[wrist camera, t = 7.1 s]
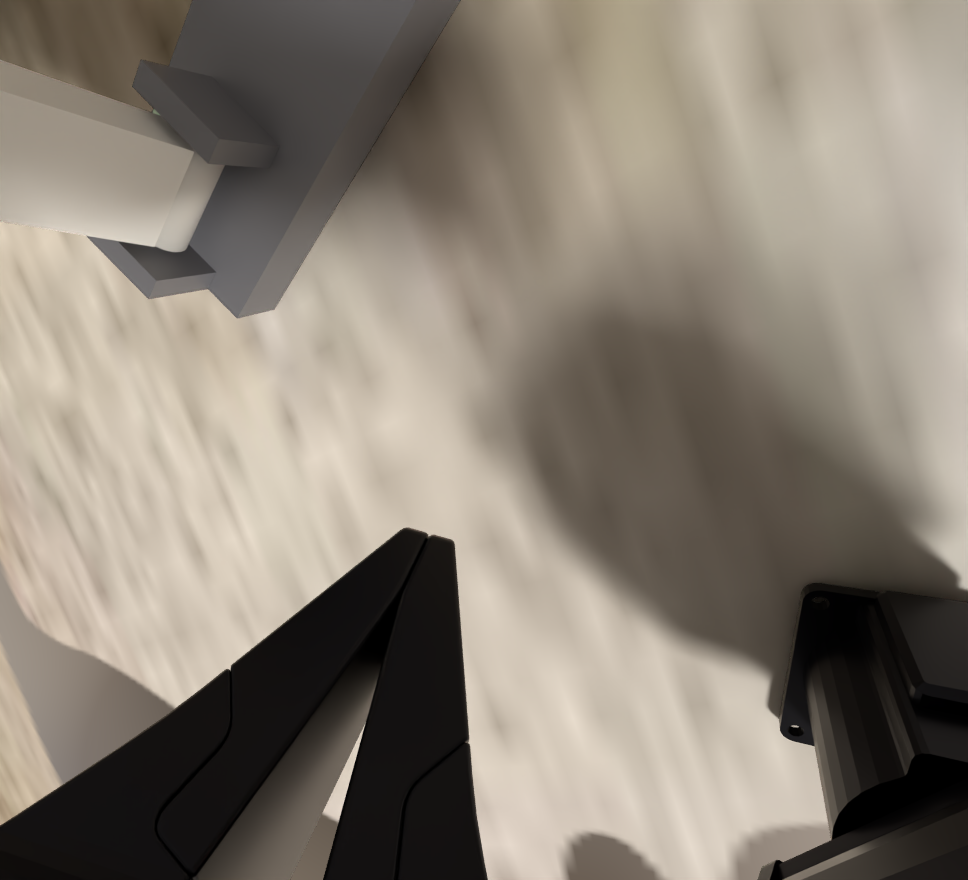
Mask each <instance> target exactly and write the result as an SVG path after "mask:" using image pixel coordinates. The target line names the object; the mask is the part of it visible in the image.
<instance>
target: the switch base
mask: <svg viewBox="0 0 968 880" xmlns="http://www.w3.org/2000/svg"><path fill="white" fill-rule="evenodd" d="M459 2H460V0H192V3H191V6H190V9H189V12H188V14H187V17H186V20H185V23H184V25H183V28H182V31H181V34H180V36H179V39H178V42H177V45H176V47H175V50H174V53H173V56H172V59H171V61H170V64H169V66H166V65H162V64H158V63H154V62H150V61H146V60H142V59H141V61H140V64H139V67H138V70H137V73H136V76H135V79H134V82H133V85H132V87H133V88H134V89H135V90H136V91H137V92H138V93H139V94H140V95H141V96H142V97H143V98H144V99H145V100H146V101H147V102H148V103H149V104H150V105H151V106H152V107H153V111H152V113H154V114H157V115H160V116H162V117H163V118H164V119H165V120H166V121H167V122H168V123H169V125H170V126H171V127H172V128H173V129H174V130H175V131H176V132H177V133H178V134H179V135H180V136H181V137H182V138H183V139H184V140H185V141H186V142H187V143H188V144H189V145H190V146H191V147H192V148H193V149H194V150H195V151H196V152H197V153H198V154H199V155H200V156H201V157H202V158H203V159H204V160H205V161H206V162H207V163H208V164H217V165H225V166H224V168H223V170H222V173H221V175H220V177H219V179H218V181H217V183H216V186H215V188H214V190H213V192H212V194H211V197H210V199H209V201H208V203H207V205H206V207H205V210H204V212H203V214H202V216H201V218H200V221H199V223H198V225H197V227H196V229H195V231H194V234H193V236H192V238H191V240H190V242H189V245H188V247H187V249H186V250H185V251H182V252H170V251H166V250H163V249H160V248H158V247H156V246H155V247H151V246H145V245H139V244H133V243H127V242H121V241H115V240H109V239H103V238H96V237H90V236H87V237H88V238H89V239H90V240H91V241H92V242H93V243H94V244H95V245H96V246H97V247H98V248H99V249H100V250H101V251H102V252H103V253H104V254H105V256H106V257H107V258H108V259H109V260H110V261H111V262H112V263H113V264H114V265H115V266H116V267H117V268H118V269H119V270H120V271H121V272H122V273H123V274H124V275H125V276H126V277H127V278H128V279H129V280H130V281H131V282H132V283H133V284H134V285H135V286H136V287H137V288H138V289H139V290H140V291H141V292H142V293H143V294H144V295H145V296H146V297H147V298H148V299H152V298H158V297H164V296H170V295H176V294H181V293H187V292H193V291H199V290H205V289H209V290H210V291H211V292H212V293H213V294H214V295H215V296H216V297H217V299H218V300H219V301H220V302H221V303H222V304H223V305H224V306H225V307H226V308H227V309H228V310H229V311H230V312H231V313H232V314H233V315H234V316H235V317H236V318H241V317H245V316H249V315H254V314H258V313H262V312H266V311H270V310H274V309H275V307H276V306H277V304H278V302H279V301H280V299H281V297H282V296H283V294H284V292H285V291H286V289H287V287H288V286H289V284H290V282H291V281H292V279H293V277H294V276H295V274H296V273H297V271H298V269H299V268H300V266H301V264H302V263H303V261H304V259H305V258H306V256H307V254H308V253H309V251H310V249H311V248H312V246H313V244H314V243H315V241H316V239H317V238H318V236H319V234H320V233H321V231H322V229H323V228H324V226H325V224H326V223H327V221H328V219H329V218H330V216H331V214H332V213H333V211H334V209H335V208H336V206H337V204H338V203H339V201H340V199H341V198H342V196H343V194H344V193H345V191H346V190H347V188H348V186H349V185H350V183H351V181H352V180H353V178H354V176H355V175H356V173H357V171H358V170H359V168H360V166H361V165H362V163H363V161H364V160H365V158H366V156H367V155H368V153H369V151H370V150H371V148H372V146H373V145H374V143H375V141H376V140H377V138H378V136H379V135H380V133H381V131H382V130H383V128H384V126H385V125H386V123H387V121H388V120H389V118H390V116H391V115H392V113H393V112H394V110H395V108H396V107H397V105H398V103H399V102H400V100H401V98H402V97H403V95H404V93H405V92H406V90H407V88H408V87H409V85H410V83H411V82H412V80H413V78H414V77H415V75H416V73H417V72H418V70H419V68H420V67H421V65H422V63H423V62H424V60H425V58H426V57H427V55H428V53H429V52H430V50H431V48H432V47H433V45H434V43H435V42H436V40H437V38H438V37H439V35H440V34H441V32H442V30H443V29H444V27H445V25H446V24H447V22H448V20H449V19H450V17H451V15H452V14H453V12H454V10H455V9H456V7H457V5H458V4H459Z"/></svg>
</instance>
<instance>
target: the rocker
mask: <svg viewBox="0 0 968 880" xmlns="http://www.w3.org/2000/svg"><path fill="white" fill-rule="evenodd" d="M224 166H225V165H217V164H208V163H207V162H206V161H205V160H204V159H203V158H202V157H201V156H200V155H199V154H198V153H197V152H196V151H195V150H194V149H193V148H192V147H191V146H190V145H189V144H188V143H187V142H186V141H185V140H184V139H183V138H182V137H181V136H180V135H179V134H178V133H177V132H176V131H175V130H174V129H173V128H172V127H171V126H170V125H169V123H168V122H167V121H166V120H165V119H164V118H163V117H162V116H160V115H157V114H154V113H151V112H149V111H146V110H143V109H140V108H137V107H134V106H131V105H129V104H126V103H123V102H120V101H117V100H114V99H111V98H109V97H106V96H103V95H100V94H97V93H94V92H91V91H89V90H86V89H83V88H80V87H77V86H74V85H71V84H69V83H66V82H63V81H60V80H57V79H54V78H51V77H49V76H46V75H43V74H40V73H37V72H34V71H31V70H28V69H26V68H23V67H20V66H17V65H14V64H11V63H8V62H6V61H3V60H0V222H6V223H12V224H18V225H24V226H30V227H36V228H42V229H48V230H54V231H60V232H66V233H72V234H78V235H84V236H90V237H96V238H103V239H109V240H115V241H121V242H127V243H133V244H139V245H145V246H151V247H155V246H156V247H158V248H160V249H163V250H166V251H170V252H182V251H185V250H186V249H187V247H188V245H189V242H190V240H191V238H192V236H193V234H194V231H195V229H196V227H197V225H198V223H199V221H200V218H201V216H202V214H203V212H204V210H205V207H206V205H207V203H208V201H209V199H210V197H211V194H212V192H213V190H214V188H215V186H216V183H217V181H218V179H219V177H220V175H221V173H222V170H223V168H224Z"/></svg>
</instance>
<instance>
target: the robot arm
mask: <svg viewBox="0 0 968 880" xmlns="http://www.w3.org/2000/svg"><path fill="white" fill-rule="evenodd" d="M816 597H823V598H826V601H824V602H822V603H817V602H814V601H812V600H813V599H814V598H816ZM365 722H366V724H365ZM779 723H780V731H781V733H782V734H783V736H784V737H786V738H787V739H789V740H792V741H795V742H799V743H803V744H808V745H812V746H815V751H816V756H817V762H818V768H819V773H820V779H821V785H822V790H823V796H824V802H825V807H826V813H827V819H828V824H829V830H830V836H831V841H829V842H827V843H824V844H822V845H820V846H818V847H816V848H814V849H811V850H809V851H807V852H805V853H803V854H801V855H798V856H796V857H794V858H792V859H789V860H787V861H785V862H781V861H780V860H776V861H774V862H771V863H769V864H767V865H765V866H763V867H762V868H761V871H760V874H759V877H758V880H968V602H961V601H954V600H947V599H940V598H933V597H927V596H920V595H913V594H906V593H899V592H893V591H885V592H876V591H870V590H863V589H856V588H849V587H843V586H836V585H829V584H822V583H813V584H810V585H807V586H806V587H805V588H804V589H803V590H802V593H801V597H800V603H799V608H798V614H797V620H796V625H795V631H794V637H793V642H792V648H791V654H790V659H789V665H788V671H787V676H786V682H785V688H784V693H783V699H782V704H781V710H780V716H779ZM364 724H365V728H364V731H363V735H362V739H361V742H360V746H359V750H358V753H357V757H356V761H355V764H354V768H353V772H352V775H351V779H350V783H349V786H348V790H347V794H346V797H345V801H344V805H343V808H342V812H341V816H340V819H339V823H338V827H337V830H336V834H335V838H334V841H333V846H332V849H331V853H330V856H329V860H328V864H327V868H326V871H325V875H324V878H323V880H488V878H487V873H486V868H485V863H484V857H483V851H482V845H481V839H480V833H479V827H478V821H477V814H476V805H475V796H474V786H473V777H472V765H471V752H470V745H469V743H468V742H469V728H468V715H467V702H466V689H465V675H464V662H463V649H462V635H461V622H460V609H459V595H458V582H457V569H456V556H455V544H454V541H453V540H451V539H447V538H444V537H440V536H437V535H431V536H428V534H427V533H425V532H422V531H419V530H415V529H411V528H403V529H402V530H400V531H399V532H398V533H396V534H395V535H394V536H393V537H391V538H390V539H389V540H388V541H386V542H385V543H384V544H383V545H381V546H380V547H379V548H378V549H376V550H375V551H374V552H373V553H371V554H370V555H369V556H368V557H366V558H365V559H364V560H363V561H361V562H360V563H359V564H358V565H356V566H355V567H354V568H352V569H351V570H350V571H349V572H347V573H346V574H345V575H344V576H342V577H341V578H340V579H339V580H337V581H336V582H335V583H334V584H332V585H331V586H330V587H329V588H327V589H326V590H325V591H324V592H322V593H321V594H320V595H319V596H317V597H316V598H315V599H314V600H312V601H311V602H310V603H309V604H307V605H306V606H305V607H304V608H302V609H301V610H300V611H299V612H297V613H296V614H295V615H294V616H292V617H291V618H290V619H289V620H287V621H286V622H285V623H284V624H282V625H281V626H280V627H279V628H277V629H276V630H275V631H273V632H272V633H271V634H270V635H268V636H267V637H266V638H265V639H263V640H262V641H261V642H260V643H258V644H257V645H256V646H255V647H253V648H252V649H251V650H250V651H248V652H247V653H246V654H245V655H243V656H242V657H241V658H240V659H238V660H237V661H236V662H235V663H233V664H232V665H231V671H230V670H229V669H226V670H224V671H223V672H222V673H220V674H219V675H218V676H217V677H215V678H214V679H213V680H212V681H210V682H209V683H208V684H207V685H206V686H204V687H203V688H202V689H200V690H199V691H198V692H196V693H195V694H194V695H193V696H191V697H190V698H189V699H187V700H186V701H185V702H183V703H182V704H181V705H179V706H178V707H177V708H175V709H174V710H173V711H171V712H170V713H169V714H167V715H166V716H165V717H163V718H162V719H161V720H159V721H157V722H156V723H155V724H153V725H152V726H150V727H149V728H147V729H146V730H144V731H143V732H141V733H140V734H138V735H137V736H136V737H134V738H133V739H131V740H130V741H128V742H127V743H125V744H124V745H122V746H121V747H119V748H118V749H116V750H115V751H113V752H112V753H110V754H109V755H107V756H106V757H104V758H103V759H101V760H100V761H98V762H97V763H95V764H93V765H92V766H91V767H89V768H87V769H86V770H84V771H83V772H81V773H80V774H78V775H77V776H75V777H74V778H72V779H71V780H69V781H68V782H66V783H65V784H63V785H62V786H60V787H59V788H57V789H56V790H54V791H53V792H51V793H49V794H48V795H46V796H45V797H43V798H42V799H40V800H39V801H37V802H36V803H34V804H33V805H31V806H30V807H28V808H27V809H25V810H24V811H22V812H21V813H19V814H18V815H16V816H15V817H13V818H11V819H10V820H8V821H7V822H5V823H4V824H2V825H0V880H290V879H291V877H292V875H293V873H294V871H295V869H296V867H297V864H298V863H299V861H300V858H301V856H302V854H303V852H304V850H305V848H306V846H307V844H308V842H309V840H310V837H311V835H312V833H313V831H314V829H315V827H316V825H317V823H318V820H319V819H320V816H321V814H322V812H323V810H324V808H325V806H326V804H327V802H328V800H329V798H330V796H331V793H332V791H333V789H334V787H335V785H336V783H337V781H338V779H339V777H340V775H341V772H342V770H343V768H344V766H345V764H346V762H347V760H348V758H349V756H350V754H351V752H352V749H353V747H354V745H355V743H356V741H357V739H358V737H359V735H360V733H361V731H362V728H363V726H364ZM792 725H797V726H799V727H798V728H796V727H791V726H792Z"/></svg>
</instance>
